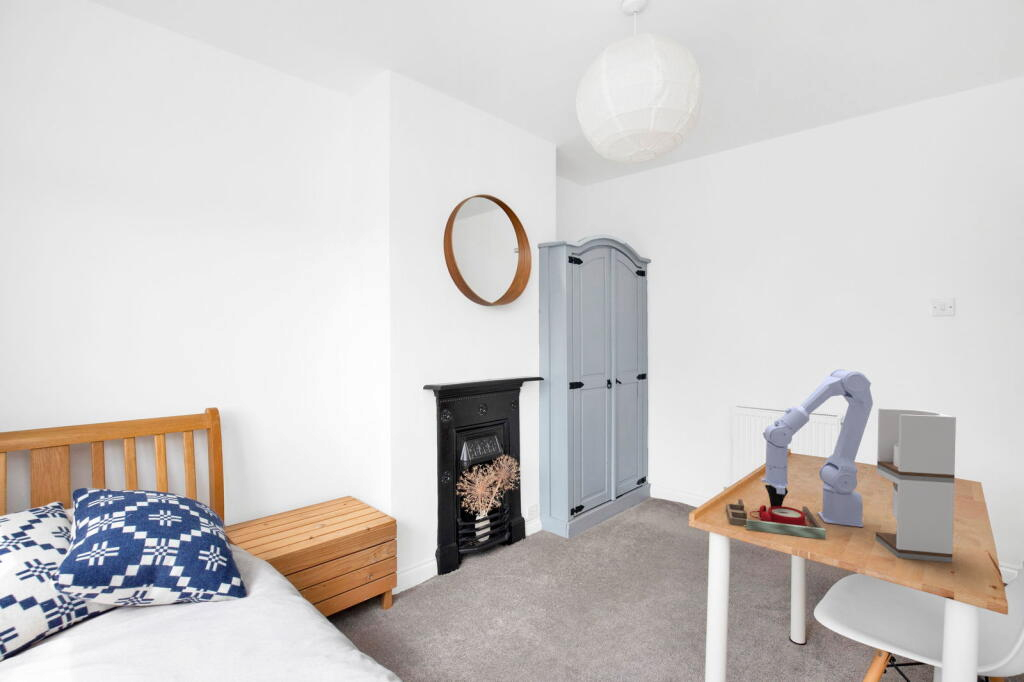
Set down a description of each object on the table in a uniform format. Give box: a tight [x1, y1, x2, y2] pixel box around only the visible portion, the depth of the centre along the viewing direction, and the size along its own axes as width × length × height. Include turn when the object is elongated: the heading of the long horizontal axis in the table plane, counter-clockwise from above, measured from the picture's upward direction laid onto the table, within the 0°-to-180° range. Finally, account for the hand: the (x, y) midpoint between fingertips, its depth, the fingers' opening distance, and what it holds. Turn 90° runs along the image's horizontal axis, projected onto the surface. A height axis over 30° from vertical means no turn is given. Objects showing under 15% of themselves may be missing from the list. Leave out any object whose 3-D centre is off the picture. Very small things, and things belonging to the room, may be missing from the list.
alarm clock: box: [749, 504, 813, 527], centre depth 141 cm, size 10×6×15 cm
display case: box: [875, 408, 957, 563], centre depth 124 cm, size 11×11×35 cm
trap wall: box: [737, 498, 827, 540], centre depth 143 cm, size 19×21×2 cm
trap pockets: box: [725, 502, 746, 526], centre depth 146 cm, size 4×13×2 cm, turn 161°
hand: (775, 510), depth 147 cm, fingers closed
